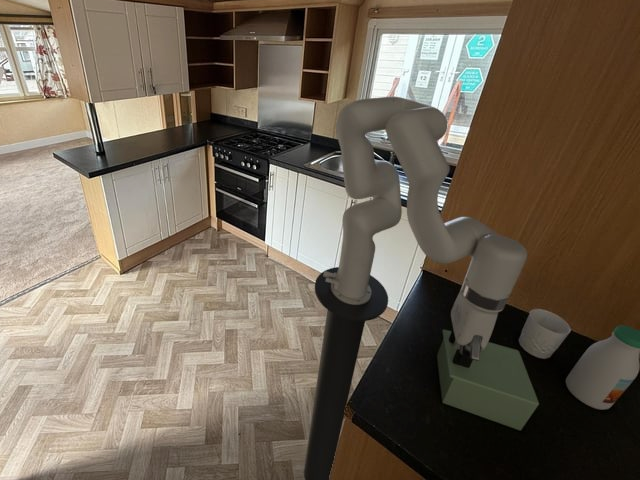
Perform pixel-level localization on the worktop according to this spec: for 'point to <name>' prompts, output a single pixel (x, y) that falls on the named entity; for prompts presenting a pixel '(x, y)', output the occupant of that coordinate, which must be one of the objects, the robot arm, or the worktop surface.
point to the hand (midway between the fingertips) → (458, 353)
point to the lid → (493, 370)
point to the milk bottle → (606, 369)
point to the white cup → (543, 333)
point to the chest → (481, 398)
